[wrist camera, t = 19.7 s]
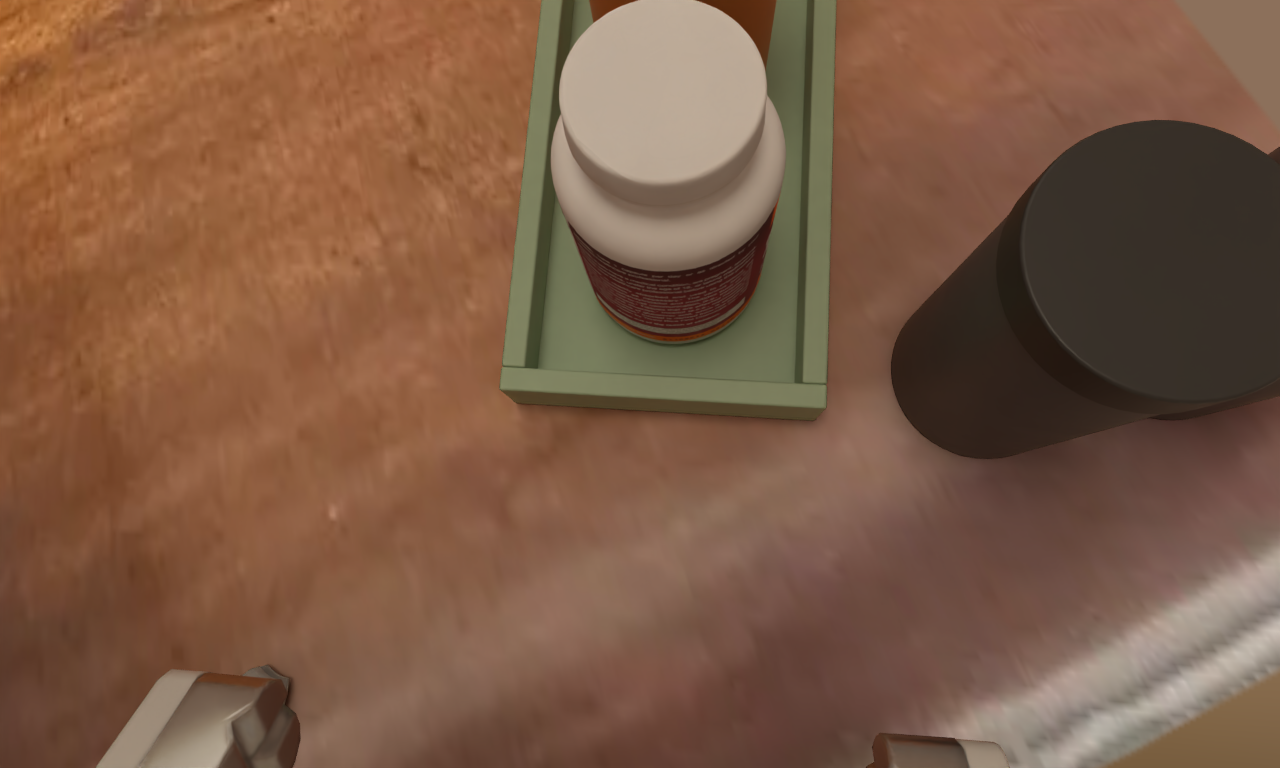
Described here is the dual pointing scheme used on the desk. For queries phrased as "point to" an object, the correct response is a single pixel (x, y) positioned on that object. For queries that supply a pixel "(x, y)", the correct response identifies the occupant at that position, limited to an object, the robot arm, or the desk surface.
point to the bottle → (744, 3)
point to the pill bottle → (668, 166)
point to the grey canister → (1104, 296)
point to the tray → (782, 303)
